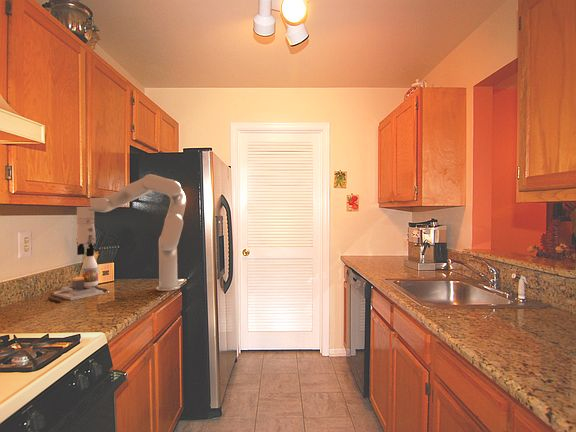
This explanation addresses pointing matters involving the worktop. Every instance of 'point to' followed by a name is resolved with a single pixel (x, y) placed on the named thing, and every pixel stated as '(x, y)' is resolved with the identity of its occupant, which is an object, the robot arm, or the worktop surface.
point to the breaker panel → (77, 292)
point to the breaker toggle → (78, 283)
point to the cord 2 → (100, 289)
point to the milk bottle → (90, 271)
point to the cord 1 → (55, 299)
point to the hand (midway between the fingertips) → (85, 255)
